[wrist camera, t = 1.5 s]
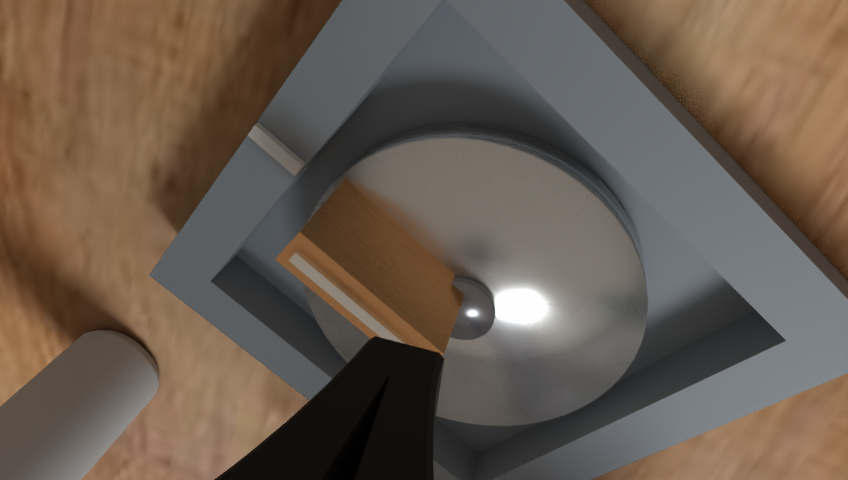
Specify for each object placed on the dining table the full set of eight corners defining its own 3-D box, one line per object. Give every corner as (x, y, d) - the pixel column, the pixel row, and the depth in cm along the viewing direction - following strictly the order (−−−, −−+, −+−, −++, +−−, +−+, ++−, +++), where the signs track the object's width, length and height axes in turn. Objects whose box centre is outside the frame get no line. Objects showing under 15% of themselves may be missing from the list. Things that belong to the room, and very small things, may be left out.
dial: (725, 303, 19) (758, 421, 15) (476, 437, 25) (452, 545, 21) (459, 40, 17) (411, 94, 13) (263, 261, 23) (190, 344, 19)
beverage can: (90, 308, 29) (-171, 526, 19) (173, 356, 29) (-42, 595, 20) (80, 361, 32) (-153, 576, 22) (156, 405, 32) (-40, 637, 22)
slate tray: (867, 301, 18) (902, 359, 16) (482, 483, 28) (471, 534, 26) (458, -133, 15) (433, -134, 13) (184, 243, 25) (144, 279, 23)
